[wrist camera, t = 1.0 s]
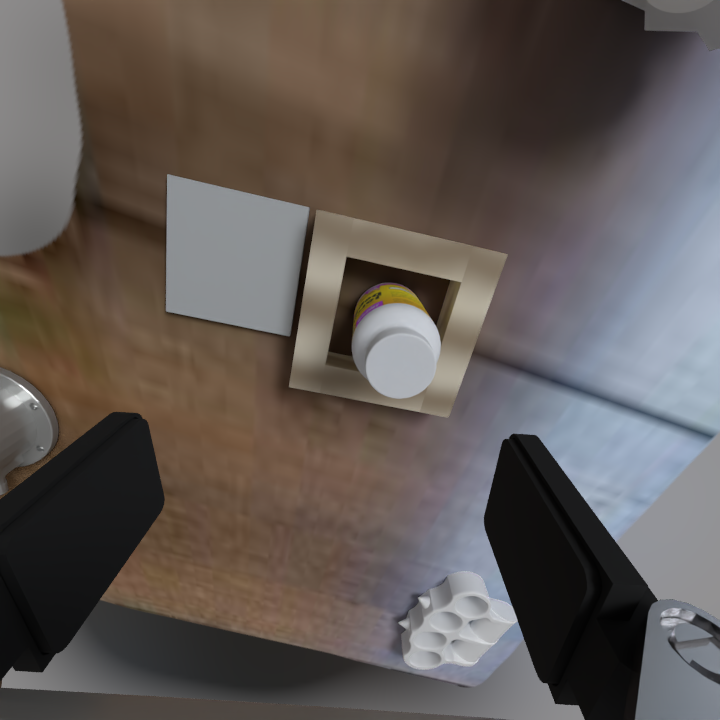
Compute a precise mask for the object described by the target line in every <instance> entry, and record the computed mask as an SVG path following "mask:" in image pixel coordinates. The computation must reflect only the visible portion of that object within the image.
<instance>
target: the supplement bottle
mask: <svg viewBox="0 0 720 720" xmlns="http://www.w3.org/2000/svg"><path fill="white" fill-rule="evenodd" d="M440 350H441V341H440V335H439V332H438V329H437V327H436V325H435V324H434V322H433V320H432V319H431V318H430V316H429V315H428V313H427V311H426V310H425V308H424V307H423V305H422V304H421V302H420V300H419V299H418V298H417V296H416V295H415V294H414V293H413V292H412V291H411V290H410V289H409V288H407V287H405V286H403V285H401V284H397V283H381V284H377V285H375V286H373V287H371V288H369V289H368V290H367V291H365V293H364V294H363V295H362V296H361V297H360V299H359V300H358V302H357V305H356V308H355V312H354V321H353V335H352V356H353V360H354V362H355V365H356V367H357V368H358V370H359V371H360V373H361V374H362V375H363V376H364V377H365V378H366V379H367V380H368V381H369V383H370V384H371V386H372V387H373V388H374V389H375V390H376V391H377V392H379V393H380V394H382V395H384V396H387V397H390V398H395V399H403V398H409V397H412V396H415V395H417V394H419V393H420V392H422V391H423V390H425V389H426V388H427V386H428V385H429V384H430V383H431V381H432V380H433V378H434V375H435V372H436V364H437V361H438V359H439V355H440Z"/></svg>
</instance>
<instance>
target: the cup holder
mask: <svg viewBox="0 0 720 720" xmlns="http://www.w3.org/2000/svg"><path fill="white" fill-rule="evenodd" d="M507 255H508V254H504V253H501V252H497V251H493V250H489V249H484V248H480V247H476V246H472V245H467V244H463V243H459V242H455V241H450V240H446V239H442V238H437V237H433V236H429V235H425V234H420V233H416V232H412V231H408V230H403V229H399V228H395V227H390V226H386V225H382V224H378V223H373V222H369V221H365V220H361V219H356V218H352V217H348V216H344V215H339V214H335V213H331V212H326V211H322V210H317V211H316V217H315V224H314V230H313V236H312V243H311V249H310V255H309V262H308V268H307V275H306V281H305V287H304V294H303V300H302V306H301V313H300V319H299V325H298V332H297V338H296V344H295V351H294V357H293V363H292V370H291V376H290V382H289V387H291V388H296V389H302V390H307V391H312V392H317V393H323V394H328V395H333V396H338V397H343V398H349V399H354V400H359V401H364V402H369V403H375V404H380V405H385V406H390V407H396V408H401V409H406V410H411V411H416V412H422V413H427V414H432V415H437V416H442V417H448V418H449V415H450V412H451V410H452V407H453V404H454V401H455V399H456V396H457V393H458V390H459V388H460V385H461V382H462V379H463V377H464V374H465V371H466V368H467V365H468V363H469V360H470V357H471V354H472V352H473V349H474V346H475V343H476V341H477V338H478V335H479V332H480V330H481V327H482V324H483V321H484V319H485V316H486V313H487V310H488V307H489V305H490V302H491V299H492V296H493V294H494V291H495V288H496V285H497V283H498V280H499V277H500V274H501V272H502V269H503V266H504V263H505V261H506V258H507ZM347 257H351V258H355V259H360V260H364V261H369V262H373V263H377V264H382V265H386V266H391V267H395V268H400V269H404V270H409V271H413V272H418V273H422V274H426V275H431V276H435V277H440V278H444V279H449V280H450V283H449V286H448V289H447V292H446V296H445V299H444V302H443V305H442V309H441V312H440V315H439V318H438V321H437V325H436V327H437V329H438V332H439V335H440V341H441V350H440V355H439V359H438V361H437V364H436V372H435V375H434V378H433V380H432V381H431V383H430V384H429V385H428V386H427V388H426V389H425V390H423V391H422V392H420V393H419V394H417V395H415V396H412V397H409V398H403V399H395V398H390V397H387V396H384V395H382V394H380V393H379V392H377V391H376V390H375V389H374V388H373V387H372V386H371V384H370V383H369V381H368V380H367V379H366V378H365V377H364V376H363V375H362V374H361V373H360V371H359V370H358V368H357V367H356V365H355V362H354V360H353V356H348V355H343V354H338V353H333V352H328V350H329V345H330V340H331V335H332V330H333V325H334V320H335V315H336V310H337V305H338V299H339V294H340V289H341V284H342V279H343V274H344V269H345V264H346V259H347Z"/></svg>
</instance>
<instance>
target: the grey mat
mask: <svg viewBox="0 0 720 720" xmlns="http://www.w3.org/2000/svg"><path fill="white" fill-rule="evenodd" d="M309 211H310V208H309V207H305V206H301V205H297V204H292V203H288V202H284V201H279V200H275V199H271V198H267V197H262V196H258V195H254V194H250V193H245V192H241V191H237V190H232V189H228V188H224V187H220V186H215V185H211V184H207V183H203V182H198V181H194V180H190V179H185V178H181V177H177V176H173V175H168V174H167V252H166V311H167V312H172V313H177V314H182V315H186V316H191V317H196V318H201V319H206V320H211V321H216V322H221V323H226V324H231V325H236V326H241V327H245V328H250V329H255V330H260V331H265V332H270V333H275V334H280V335H285V336H290V335H291V330H292V324H293V317H294V311H295V304H296V297H297V291H298V284H299V277H300V271H301V264H302V257H303V251H304V244H305V238H306V231H307V224H308V218H309Z"/></svg>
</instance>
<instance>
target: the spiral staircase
mask: <svg viewBox="0 0 720 720" xmlns="http://www.w3.org/2000/svg"><path fill="white" fill-rule="evenodd" d="M622 1H624V2H627V3H629V4H631V5H633V6H635V7H637V8H640V9H642V10H644V11H645V27H644V30H646V31H678V32H697V33H698V34H699V36H700V37H701V39H702V40H703V42H704V43H705V45H706V46H707V48H708V50H709V51H712V50H715V49H719V48H720V0H622Z"/></svg>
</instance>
